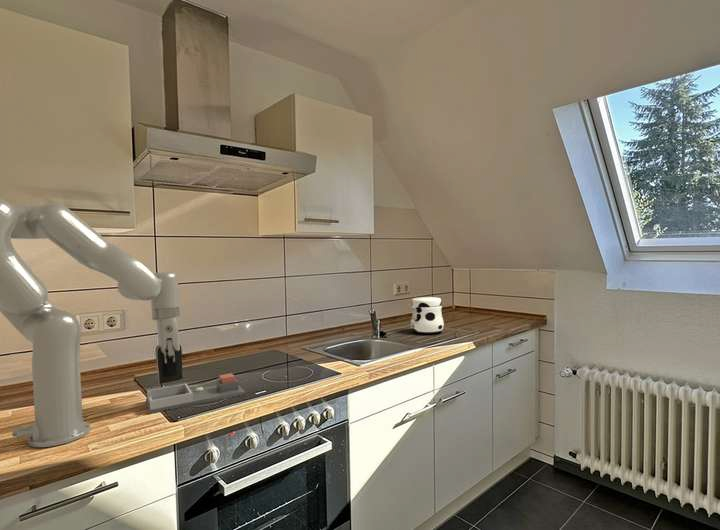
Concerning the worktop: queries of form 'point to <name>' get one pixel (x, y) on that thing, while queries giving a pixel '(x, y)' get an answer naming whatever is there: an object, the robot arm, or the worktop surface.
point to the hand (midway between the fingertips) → (169, 373)
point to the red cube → (226, 378)
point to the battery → (160, 365)
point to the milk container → (427, 315)
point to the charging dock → (189, 395)
